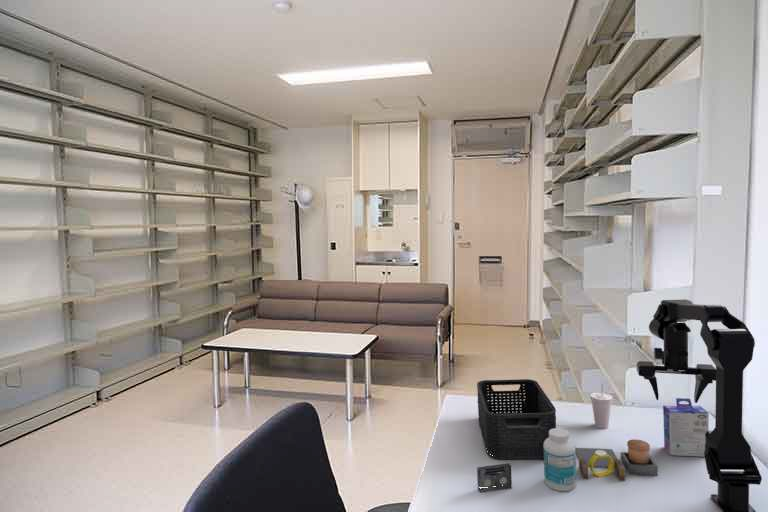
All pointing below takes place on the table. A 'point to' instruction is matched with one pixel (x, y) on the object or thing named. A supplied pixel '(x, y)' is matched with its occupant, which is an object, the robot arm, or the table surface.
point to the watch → (601, 455)
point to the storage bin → (515, 419)
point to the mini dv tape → (494, 477)
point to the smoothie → (601, 408)
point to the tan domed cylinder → (638, 451)
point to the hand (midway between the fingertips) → (676, 401)
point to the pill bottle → (559, 460)
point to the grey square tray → (639, 466)
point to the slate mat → (599, 462)
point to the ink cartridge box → (685, 429)
